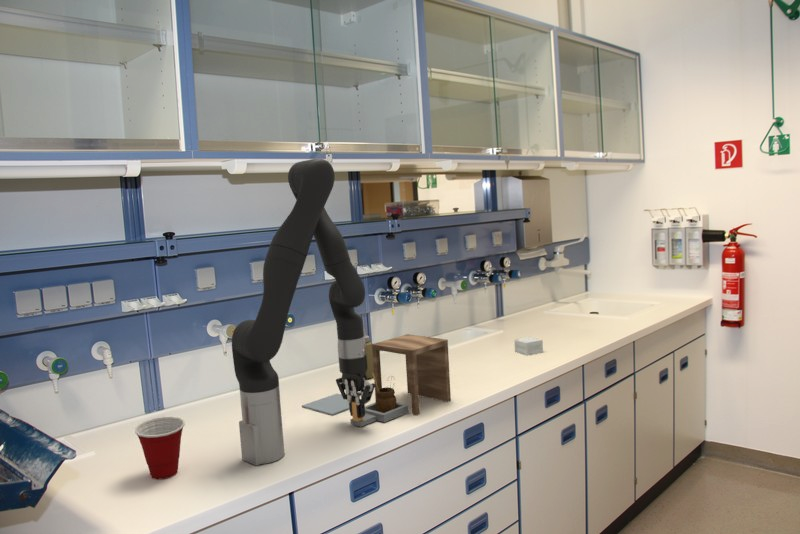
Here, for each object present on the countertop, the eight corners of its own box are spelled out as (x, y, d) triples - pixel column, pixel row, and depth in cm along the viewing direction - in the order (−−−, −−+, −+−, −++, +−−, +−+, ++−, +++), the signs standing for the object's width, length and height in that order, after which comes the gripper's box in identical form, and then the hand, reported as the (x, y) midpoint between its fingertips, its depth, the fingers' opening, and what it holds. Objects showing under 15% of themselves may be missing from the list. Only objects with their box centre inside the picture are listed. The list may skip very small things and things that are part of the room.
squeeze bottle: (381, 376, 216) (378, 325, 214) (365, 382, 210) (361, 329, 208) (365, 373, 221) (362, 323, 219) (348, 378, 215) (345, 327, 213)
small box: (543, 353, 235) (543, 339, 235) (527, 356, 232) (526, 342, 231) (530, 349, 242) (529, 336, 242) (514, 352, 239) (513, 339, 238)
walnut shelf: (416, 415, 173) (412, 350, 171) (375, 405, 184) (371, 344, 182) (450, 400, 184) (447, 339, 183) (410, 392, 195) (407, 334, 194)
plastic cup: (146, 489, 136) (140, 436, 134) (134, 474, 144) (129, 424, 143) (195, 474, 142) (191, 424, 141) (181, 460, 151) (176, 412, 150)
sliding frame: (368, 428, 164) (366, 406, 163) (343, 421, 171) (341, 399, 170) (408, 412, 176) (407, 390, 175) (384, 405, 182) (382, 385, 182)
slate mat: (332, 415, 177) (332, 414, 177) (301, 407, 187) (301, 405, 187) (367, 402, 187) (367, 401, 187) (337, 394, 197) (337, 393, 197)
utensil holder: (397, 417, 173) (394, 374, 172) (374, 418, 173) (372, 376, 172) (397, 410, 179) (394, 369, 178) (375, 411, 179) (372, 370, 178)
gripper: (324, 354, 168) (330, 415, 170) (359, 360, 159) (365, 425, 160) (345, 347, 173) (350, 407, 175) (380, 353, 164) (385, 416, 166)
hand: (357, 416), depth 168 cm, fingers closed on sliding frame, 2 cm apart
